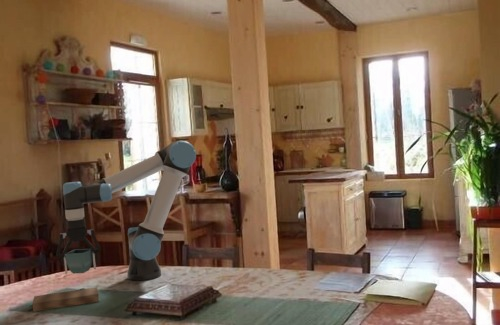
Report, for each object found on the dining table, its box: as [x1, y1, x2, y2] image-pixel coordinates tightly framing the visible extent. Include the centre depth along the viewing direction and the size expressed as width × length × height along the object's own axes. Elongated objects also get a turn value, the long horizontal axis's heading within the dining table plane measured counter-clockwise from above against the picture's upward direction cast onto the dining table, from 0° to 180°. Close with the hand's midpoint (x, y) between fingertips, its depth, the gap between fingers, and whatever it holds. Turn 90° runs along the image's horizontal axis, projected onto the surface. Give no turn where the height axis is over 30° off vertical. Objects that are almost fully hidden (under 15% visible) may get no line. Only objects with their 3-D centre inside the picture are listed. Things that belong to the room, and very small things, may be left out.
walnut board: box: [32, 287, 100, 312], centre depth 221 cm, size 24×12×3 cm, turn 108°
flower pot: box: [64, 248, 94, 274], centre depth 236 cm, size 9×9×9 cm
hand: (80, 271), depth 236 cm, fingers closed on flower pot, 11 cm apart
